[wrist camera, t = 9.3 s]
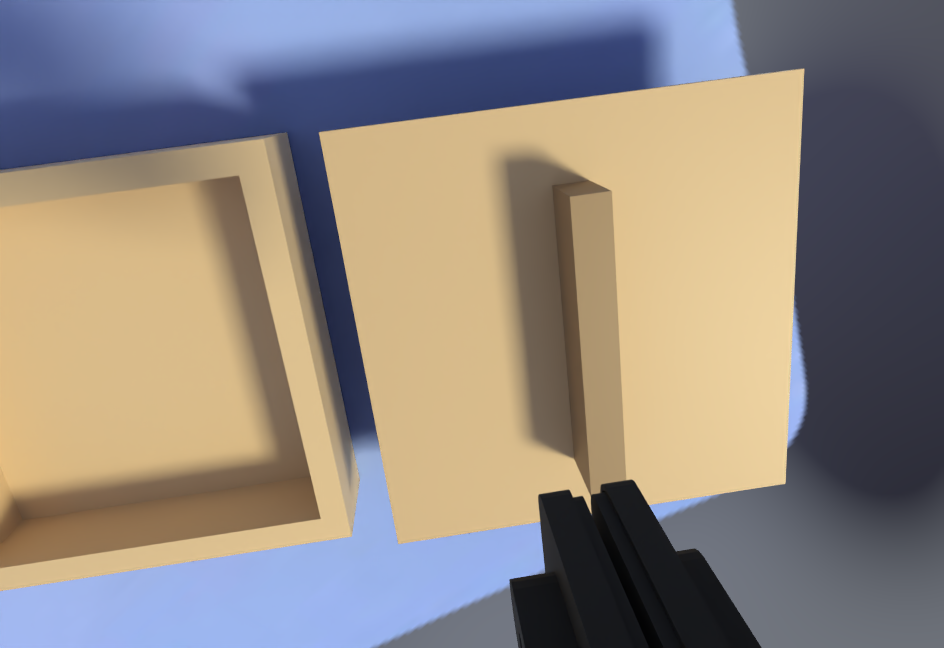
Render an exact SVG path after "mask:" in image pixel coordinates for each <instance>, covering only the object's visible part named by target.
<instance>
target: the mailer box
mask: <svg viewBox="0 0 944 648" xmlns="http://www.w3.org/2000/svg"><path fill="white" fill-rule="evenodd" d="M359 481H360V479H359V474H358V469H357V464H356V459H355V455H354V450H353V445H352V440H351V436H350V431H349V426H348V421H347V416H346V412H345V407H344V402H343V397H342V393H341V388H340V383H339V378H338V373H337V369H336V364H335V359H334V354H333V349H332V345H331V340H330V335H329V330H328V326H327V321H326V316H325V311H324V306H323V302H322V297H321V292H320V287H319V283H318V278H317V273H316V268H315V263H314V259H313V254H312V249H311V244H310V240H309V235H308V230H307V225H306V220H305V216H304V211H303V206H302V201H301V196H300V192H299V187H298V182H297V177H296V173H295V168H294V163H293V158H292V153H291V149H290V144H289V139H288V134H287V132H286V133H278V134H270V135H263V136H255V137H248V138H240V139H232V140H225V141H217V142H209V143H202V144H194V145H186V146H179V147H171V148H164V149H156V150H148V151H141V152H133V153H125V154H118V155H110V156H103V157H95V158H87V159H80V160H72V161H64V162H57V163H49V164H41V165H34V166H26V167H19V168H11V169H3V170H0V591H3V590H10V589H16V588H23V587H29V586H36V585H42V584H49V583H55V582H61V581H68V580H74V579H81V578H87V577H94V576H100V575H107V574H113V573H119V572H126V571H132V570H139V569H145V568H152V567H158V566H165V565H171V564H177V563H184V562H190V561H197V560H203V559H210V558H216V557H222V556H229V555H235V554H242V553H248V552H255V551H261V550H268V549H274V548H280V547H287V546H293V545H300V544H306V543H313V542H319V541H326V540H332V539H338V538H345V537H351V536H352V531H353V524H354V517H355V510H356V503H357V495H358V488H359Z"/></svg>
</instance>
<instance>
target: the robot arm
mask: <svg viewBox="0 0 944 648" xmlns="http://www.w3.org/2000/svg"><path fill="white" fill-rule="evenodd" d="M538 504H539V514H540V524H541V533H542V543H543V553H544V563H545V573H544V574H538V575H532V576H526V577H520V578H514V579H510V590H511V599H512V606H513V614H514V621H515V628H516V634H517V641H518V647H519V648H761V646H760V645H759V643H758V642H757V640H756V638H755V637H754V635H753V634H752V632H751V630H750V629H749V627H748V626H747V624H746V623H745V621H744V619H743V618H742V617H741V615H740V613H739V612H738V610H737V608H736V607H735V605H734V604H733V602H732V601H731V599H730V598H729V596H728V594H727V593H726V591H725V590H724V588H723V587H722V585H721V583H720V582H719V580H718V579H717V577H716V575H715V574H714V572H713V571H712V570H711V568H710V566H709V564H708V563H707V561H706V560H705V558H704V557H703V556H702V554H701V553H700V552H699V551H698V550H696V549H689V550H683V551H677V552H676V551H675V549H674V548H673V546H672V544H671V543H670V541H669V539H668V537H667V536H666V534H665V532H664V531H663V529H662V527H661V526H660V524H659V522H658V520H657V519H656V517H655V515H654V513H653V512H652V510H651V508H650V507H649V505H648V503H647V501H646V500H645V498H644V496H643V495H642V493H641V491H640V489H639V488H638V486H637V484H636V483H635V481H634V480H632V479H631V480H624V481H618V482H612V483H606V484H602V485H601V487H600V493H597V494H592V495H591V513H592V515H591V513H590V510H589V508H588V506H587V504H586V501H585V499H584V497H583V496H578V497H573V496H572V494H571V492H570V490H569V489H568V490H562V491H556V492H549V493H543V494H539V495H538Z"/></svg>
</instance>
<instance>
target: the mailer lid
mask: <svg viewBox="0 0 944 648" xmlns="http://www.w3.org/2000/svg"><path fill="white" fill-rule="evenodd" d="M803 85H804V69H794V70H787V71H778V72H771V73H763V74H756V75H748V76H740V77H733V78H725V79H717V80H710V81H702V82H695V83H687V84H679V85H672V86H664V87H656V88H649V89H641V90H634V91H626V92H618V93H611V94H603V95H596V96H588V97H580V98H573V99H565V100H557V101H550V102H542V103H535V104H527V105H519V106H512V107H504V108H496V109H489V110H481V111H474V112H466V113H458V114H451V115H443V116H435V117H428V118H420V119H413V120H405V121H397V122H390V123H382V124H374V125H367V126H359V127H352V128H344V129H336V130H329V131H321V132H319V136H320V141H321V146H322V151H323V156H324V162H325V167H326V172H327V177H328V182H329V188H330V193H331V198H332V203H333V208H334V213H335V219H336V224H337V229H338V234H339V239H340V244H341V250H342V255H343V260H344V265H345V270H346V275H347V281H348V286H349V291H350V296H351V301H352V306H353V312H354V317H355V322H356V327H357V332H358V337H359V343H360V348H361V353H362V358H363V363H364V368H365V374H366V379H367V384H368V389H369V394H370V399H371V405H372V410H373V415H374V420H375V425H376V431H377V436H378V441H379V446H380V451H381V456H382V462H383V467H384V472H385V477H386V482H387V487H388V493H389V498H390V503H391V508H392V513H393V518H394V524H395V529H396V534H397V539H398V544H401V543H408V542H414V541H421V540H427V539H433V538H440V537H446V536H453V535H459V534H466V533H472V532H478V531H485V530H491V529H498V528H504V527H510V526H517V525H523V524H530V523H536V522H540V514H539V504H538V495H539V494H543V493H549V492H556V491H562V490H568V489H569V490H570V492H571V494H572V496H573V497H578V496H583V497H584V499H585V501H586V504H587V506H588V508H589V510H590V513H591V495H592V494H597V493H600V487H601V485H602V484H606V483H612V482H618V481H624V480H631V479H632V480H634V481H635V483H636V484H637V486H638V488H639V489H640V491H641V493H642V495H643V496H644V498H645V500H646V501H647V503H648V505H651V504H658V503H664V502H671V501H677V500H683V499H690V498H696V497H703V496H709V495H715V494H722V493H728V492H735V491H741V490H747V489H754V488H760V487H766V486H773V485H779V484H785V481H786V459H787V456H786V455H787V437H788V415H789V393H790V371H791V349H792V327H793V305H794V283H795V261H796V259H795V258H796V238H797V216H798V195H799V173H800V172H799V171H800V150H801V127H802V104H803ZM591 514H592V513H591Z"/></svg>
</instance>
